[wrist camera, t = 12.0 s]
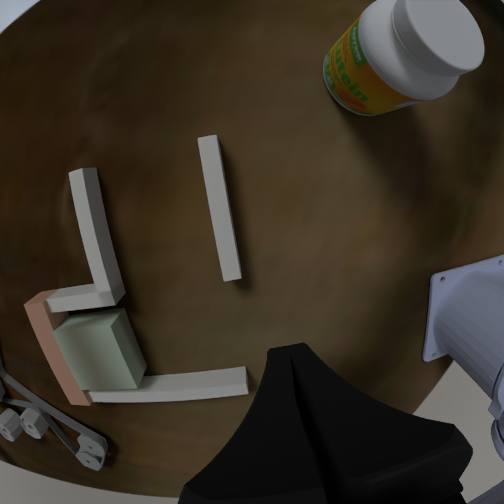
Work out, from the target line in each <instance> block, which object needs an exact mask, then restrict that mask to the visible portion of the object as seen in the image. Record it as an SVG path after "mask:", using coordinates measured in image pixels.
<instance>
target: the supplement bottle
mask: <svg viewBox="0 0 504 504" xmlns="http://www.w3.org/2000/svg"><path fill="white" fill-rule="evenodd" d="M483 57H484V42H483V38H482V34H481V32H480V29H479V27H478V25H477V23H476V21H475V20H474V18H473V16H472V15H471V14H470V12H469V11H468V10H467V8H466V7H465V6H464V5H463V4H462V3H461V2H460V1H459V0H377V1H375V2H373V3H372V4H371V5H370V6H369V7H367V8H366V9H365V10H364V11H363V13H362V14H361V15H360V16H359V17H358V18H357V19H356V20H355V22H354V23H353V24H352V25H351V26H350V27H349V28H348V30H347V31H346V32H345V33H344V34H343V35H342V37H341V38H340V39H339V40H338V41H337V42H336V43H335V44H334V46H333V47H332V48H331V49H330V51H329V52H328V54H327V56H326V58H325V60H324V65H323V76H324V80H325V83H326V86H327V88H328V90H329V92H330V93H331V95H332V96H333V97H334V99H335V100H336V101H337V102H338V103H339V104H340V105H342V106H343V107H344V108H346V109H347V110H349V111H351V112H353V113H356V114H359V115H364V116H375V115H380V114H384V113H387V112H390V111H393V110H396V109H400V108H403V107H406V106H410V105H413V104H416V103H420V102H424V101H428V100H432V99H435V98H438V97H441V96H443V95H445V94H446V93H448V92H449V91H450V90H451V89H452V88H453V87H454V85H455V84H456V82H457V80H458V78H459V75H461V74H464V73H466V72H469V71H472V70H474V69H476V68H477V67H478V66H479V65H480V64H481V62H482V60H483Z"/></svg>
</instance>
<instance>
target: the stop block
mask: <svg viewBox="0 0 504 504" xmlns="http://www.w3.org/2000/svg"><path fill="white" fill-rule="evenodd" d="M58 290H59V289H56V290H49V291H43V292H40V293H39V294H37V295H36V296H35V297H33V298H32V299H31V300H29V301H28V302H27V303H25V304H24V307H25V309H26V312H27V314H28V317H29V319H30V322H31V324H32V327H33V329H34V332H35V334H36V336H37V339H38V341H39V343H40V345H41V347H42V350H43V352H44V354H45V356H46V358H47V360H48V362H49V364H50V366H51V368H52V370H53V372H54V374H55V376H56V378H57V380H58V382H59V384H60V385H61V387H62V389H63V391H64V393H65V394H66V396H67V398H68V400H69V401H70V403H71V404H73V405H89V406H90V405H91V403H92V400H91V398H90V396H89V395H88V393H87V392H88V390H81V389H80V387H79V385H78V384H77V382H76V380H75V378H74V376H73V374H72V372H71V370H70V368H69V366H68V365H67V363H66V361H65V358H64V356H63V354H62V352H61V350H60V348H59V346H58V344H57V342H56V339H55V337H54V335H53V333H52V332H53V331H54V330H55V329H56V328H57V327H58V326H59V325H60V324H61V323H62V322H63V321H64V320H65V319H66V318H67V317H68V316H69V314H68V312H67V311H62V312H53V313H51V312H50V309H49V306H48V303H47V301H46V299H47V298H49V297H50V296H51V295H52V294H54V293H55V292H56V291H58Z"/></svg>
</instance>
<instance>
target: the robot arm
mask: <svg viewBox="0 0 504 504" xmlns="http://www.w3.org/2000/svg"><path fill="white" fill-rule="evenodd" d="M442 277H443V278H442ZM441 278H442V280H441ZM440 280H441V281H440ZM433 353H434V354H433ZM432 354H433V355H432ZM447 354H449V355H450V356H451V357H452V358H453V359H454V360H455V361H456V362H457V363H458V364H459V365H460V366H461V367H462V368H463V370H464V371H465V372H466V373H467V374H468V375H469V376H470V377H471V378H472V379H473V380H474V381H475V382H476V383H477V384H478V385H479V386H480V387H481V389H483V391H484V392H485V393H486V394H487V395H488V396H489V397H490V398H491V399H492V403H491V405H490V407H489V408H488V411H489V412H490V413H491V414H492V415H493V416H494V418H495V420H494V421H493V424H492V427H491V435H492V439H493V443H494V447H495V449H496V451H497V453H498V454H499V456H500V457H501V459H502V460H503V461H504V255H500V256H497V257H494V258H490V259H487V260H483V261H480V262H476V263H473V264H469V265H466V266H462V267H458V268H455V269H451V270H447V271H443V272H439V273H436V274H434V275H433V276H432V277H431V280H430V295H429V308H428V318H427V327H426V335H425V343H424V350H423V357H422V358H423V360H424V361H425V362H428V361H431V360H434V359H436V358H439V357H442V356H444V355H447ZM311 453H312V454H311ZM472 454H473V448H472V447H471V445H470V444H469V443H468V441H467V439H466V438H465V437H464V435H463V434H462V433H461V432H460V431H459V430H458V429H457V428H456V426H455V425H454V424H450V423H445V422H440V421H435V420H429V419H425V418H421V417H418V416H415V415H412V414H408V413H405V412H403V411H400V410H397V409H395V408H393V407H390V406H388V405H386V404H383V403H381V402H379V401H377V400H375V399H373V398H371V397H370V396H368V395H366V394H364V393H363V392H361V391H360V390H358V389H357V388H355V387H354V386H352V385H351V384H349V383H348V382H347V381H345V380H344V379H343V378H341V377H340V376H339V375H338V374H336V373H335V372H334V371H333V370H332V369H331V368H329V367H328V366H327V365H326V364H325V363H324V362H323V361H322V360H321V359H320V358H319V357H318V356H317V355H316V354H315V353H314V352H313V351H312V350H311V349H310V347H309V346H308V345H307V344H305V343H299V344H293V345H288V346H282V347H277V348H271V349H269V350H268V352H267V362H266V367H265V371H264V374H263V377H262V380H261V383H260V386H259V389H258V391H257V393H256V396H255V398H254V400H253V403H252V405H251V407H250V409H249V411H248V412H247V414H246V416H245V418H244V419H243V421H242V423H241V424H240V426H239V427H238V429H237V430H236V432H235V433H234V435H233V436H232V437H231V439H230V440H229V441H228V443H227V444H226V445H225V446H224V447H223V448H222V450H221V451H220V452H219V453H218V454H217V455H216V456H215V457H214V458H213V460H212V461H211V462H210V463H209V464H208V465H207V466H206V467H205V468H203V469H202V470H201V471H200V472H199V473H198V474H197V475H195V476H194V477H193V478H192V479H191V480H190V481H188V482H187V483H186V484H185V485H184V487H183V490H182V492H181V495H180V498H179V501H178V504H466V502H465V500H464V498H463V497H462V495H461V493H460V492H462V491H463V486H462V484H461V483H460V481H459V478H460V477H461V475H462V473H463V472H464V470H465V469H466V467H467V465H468V464H469V462H470V460H471V457H472ZM467 504H504V480H503V481H502V482H500V483H499V484H497V485H496V486H494V487H493V488H491V489H490V490H488V491H486V492H485V493H483V494H482V495H480V496H479V497H477V498H475V499H474V500H472V501H470V502H468V503H467Z"/></svg>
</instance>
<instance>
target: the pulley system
mask: <svg viewBox="0 0 504 504" xmlns="http://www.w3.org/2000/svg"><path fill="white" fill-rule="evenodd" d="M0 375H1V377H2V378H3V379H4V380H5V381H6V382H7V383H8V384H10V385H11V386H12V387H13V388H15V389H16V390H17V391H18V392H20V393H21V394H22V395H24V396H25V397H26V398H28V399H29V400H30V401H32V402H33V403H31V402H26V401H21V400H16V399H9V398H3V395H4V394H5V390H4V387H3V385H2V382H1V380H0V402H4V403H8V404H13V405H17V406H22V407H26V408H27V409H26V410H25V411H24V412H23V413H22V414H21V416H19V415H18V414H17V413H16V412H15V411H13V410H12V409H10V408H6V409H5V411H4V412H3V413H2V414H1V415H0V433H1V434H2V435H3V436H4V437H5V438H6V439H8V440H10V441H15V439H16V438H17V437H18V436H19V434H20V433H21V432H22V431H23V429H24V430H25V431H26V433H28V434H29V435H31V436H32V437H34V438H38V439H41V437H42V436H43V434H44V433H45V431H46V430H47V428H48V427H49V426H50V427H51V429H52V430H53V431H54V432H55V433H56V434H57V436H58V437H59V438H60V439H61V440H62V441H63V442H64V443H65V444H66V446H67V447H68V448H69V449H70V450H71V451H72V452H73V453H74V454H75V455H76V457H77V458H78V459H79V460H80V461H81V463H82V464H83V465H84V466H86V467H89V468H91V469H94V470H97V471H98V470H100V469H101V468H102V466H103V464H104V462H105V458H106V454H107V450H108V444H107V442H106V440H105V438H103V437H102V436H100V435H99V434H97V433H95V432H94V431H92V430H90V429H88V428H86V427H85V426H83V425H81V424H79V423H78V422H76V421H74V420H73V419H71V418H69V417H68V416H66V415H64V414H63V413H61V412H60V411H58V410H57V409H55V408H54V407H52V406H51V405H49V404H48V403H46V402H45V401H43V400H42V399H40V398H39V397H37V396H36V395H35V394H33V393H32V392H30V391H29V390H28V389H26V388H25V387H24V386H22V385H21V384H20V383H18V382H17V381H16V380H15V379H13V378H12V377H11V376H9V375H8V374H7V373H6V371H5V369H4V367H3V365H2V361H1V356H0ZM47 412H48V413H49V414H51V415H52V416H54V417H55V418H57V419H58V420H60V421H61V422H63V423H65V424H66V425H68V426H69V427H71V428H73V429H74V430H76V431H78V432H79V433H81V435H80V436H79V437H78V439H77V440H78V442H79V444H80V449H79V450H78V449H77V448H76V447H75V445H74V444H73V443H72V442H71V441H70V440H69V439H68V438H67V436H66V435H65V434H64V433H63V432H62V431H61V429H60V428H59V427H58V426H57V425H56V423H55V422H54V421H53V420H52V418H51V416H50V415H49V414H48V413H47Z"/></svg>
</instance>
